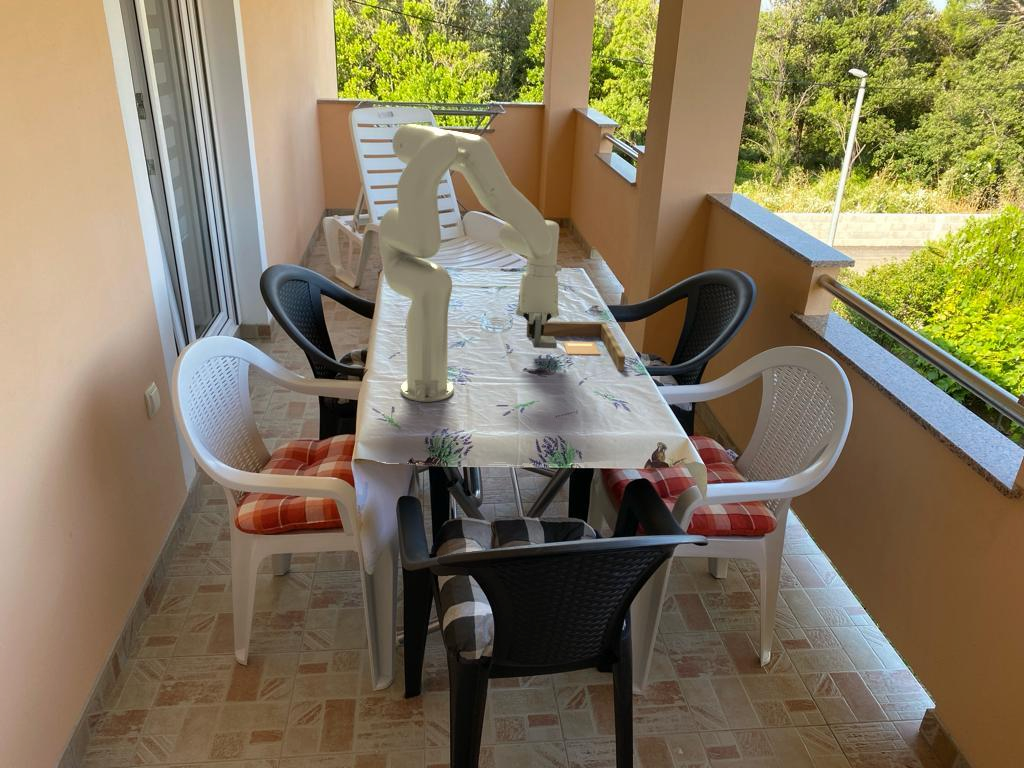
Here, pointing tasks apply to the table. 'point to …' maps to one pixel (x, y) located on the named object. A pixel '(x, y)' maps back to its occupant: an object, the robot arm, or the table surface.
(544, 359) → the table surface
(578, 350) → the pad
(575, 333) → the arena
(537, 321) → the bracket
